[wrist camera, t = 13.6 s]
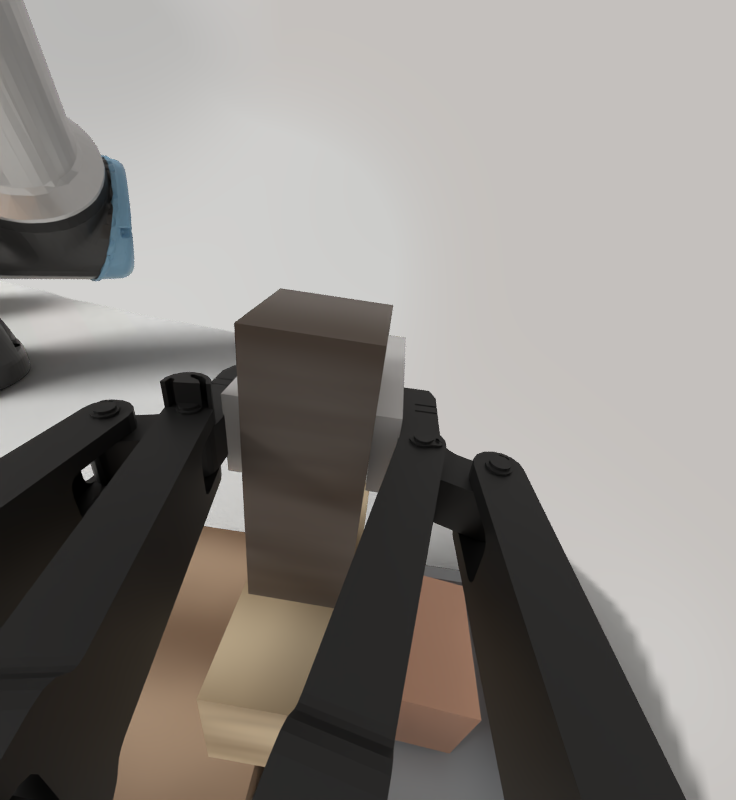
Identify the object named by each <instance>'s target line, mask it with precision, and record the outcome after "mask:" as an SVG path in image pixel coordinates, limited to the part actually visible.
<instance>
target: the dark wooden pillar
mask: <svg viewBox="0 0 736 800" xmlns="http://www.w3.org/2000/svg"><path fill="white" fill-rule="evenodd" d="M392 309H393V305H388V304H381V303H374V302H367V301H361V300H354V299H347V298H341V297H334V296H327V295H321V294H314V293H307V292H300V291H294V290H287V289H279V290H278V291H276V292H275V293H274V294H272V295H271V296H270V297H268V298H267V299H266V300H264V301H263V302H262V303H260V304H259V305H258V306H256V307H255V308H254V309H252V310H251V311H250V312H248V313H247V314H246V315H244V316H243V317H242V318H240V319H239V320H238V321H236V322H235V323H234V327H235V346H236V366H237V385H238V404H239V423H240V443H241V462H242V481H243V500H244V519H245V539H246V558H247V577H248V578H247V581H246V583H245V585H244V588H243V590H242V593H241V595H240V597H239V600H238V602H237V604H236V607H235V609H234V611H233V614H232V616H231V619H230V621H229V623H228V626H227V628H226V630H225V633H224V635H223V638H222V640H221V642H220V645H219V647H218V649H217V652H216V654H215V657H214V659H213V661H212V664H211V666H210V668H209V671H208V673H207V676H206V678H205V680H204V683H203V685H202V687H201V690H200V692H199V694H198V697H197V704H198V709H199V713H200V718H201V723H202V728H203V733H204V738H205V743H206V747H207V752H208V757H213V758H219V759H224V760H229V761H235V762H240V763H246V764H251V765H257V766H262V767H265V766H266V763H267V760H268V758H269V755H270V753H271V750H272V748H273V746H274V743H275V741H276V739H277V736H278V734H279V732H280V729H281V727H282V726H283V724H284V722H285V720H286V718H287V716H288V715H289V714H290V713H291V712H292V711H293V710H294V709H295V707H296V705H297V703H298V701H299V698H300V696H301V694H302V691H303V688H304V686H305V683H306V681H307V678H308V675H309V673H310V670H311V667H312V665H313V662H314V660H315V657H316V654H317V652H318V649H319V646H320V644H321V641H322V639H323V636H324V633H325V631H326V628H327V625H328V623H329V620H330V618H331V615H332V612H333V610H334V607H335V604H336V602H337V599H338V597H339V594H340V591H341V589H342V586H343V583H344V581H345V578H346V576H347V573H348V570H349V568H350V565H351V562H352V560H353V557H354V555H355V552H356V549H357V547H358V544H359V541H360V539H361V536H362V534H363V531H364V524H365V517H366V510H367V503H368V495H369V491H365V487H366V476H367V470H368V463H369V457H370V451H371V444H372V438H373V431H374V425H375V419H376V412H377V406H378V400H379V393H380V387H381V381H382V374H383V368H384V361H385V355H386V349H387V342H388V336H389V329H390V323H391V316H392Z"/></svg>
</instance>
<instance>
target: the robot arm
mask: <svg viewBox="0 0 736 800" xmlns="http://www.w3.org/2000/svg"><path fill="white" fill-rule="evenodd" d="M131 230H132V227H131V213H130V203H129V195H128V187H127V180H126V173H125V169H124V167H123V165H122V164H121V163H120V162H119V161H117V160H114V159H110V158H109V157H107V156H102V155H101V154H100V153H99V150H98V148H97V146H96V145H95V143H94V142H93V140H92V139H91V138H90V136H89V135H88V134H87V133H86V132H85V131H84V130H83V129H82V128H80V127H79V126H78V125H77V124H76V123H74V122H73V121H72V120H70V119H69V118H67V117H66V114H65V112H64V109H63V106H62V104H61V101H60V98H59V95H58V93H57V90H56V88H55V85H54V82H53V79H52V77H51V74H50V71H49V69H48V66H47V63H46V60H45V58H44V55H43V53H42V50H41V47H40V44H39V42H38V39H37V36H36V34H35V31H34V28H33V25H32V23H31V20H30V17H29V15H28V12H27V9H26V7H25V4H24V2H23V0H0V279H90V280H92V281H100V280H101V279H114V278H124V277H127V276H129V275H130V274H131V273H132V271H133V268H134V249H133V237H132V232H131ZM405 339H406V338H405V337H398V336H391V335H389V336H388V342H387V349H386V355H385V361H384V368H383V374H382V381H381V387H380V393H379V400H378V406H377V412H376V419H375V425H374V431H373V438H372V444H371V451H370V457H369V464H368V472H367V480H366V487H365V491H372V492H378V494H377V497H376V499H375V502H374V505H373V507H372V510H371V513H370V515H369V518H368V520H367V523H366V526H365V528H364V531H363V534H362V536H361V539H360V541H359V544H358V547H357V549H356V552H355V555H354V557H353V560H352V562H351V565H350V568H349V570H348V573H347V576H346V578H345V581H344V583H343V586H342V589H341V591H340V594H339V597H338V599H337V602H336V604H335V607H334V610H333V612H332V615H331V618H330V620H329V623H328V625H327V628H326V631H325V633H324V636H323V639H322V641H321V644H320V646H319V649H318V652H317V654H316V657H315V660H314V662H313V665H312V667H311V670H310V673H309V675H308V678H307V681H306V683H305V686H304V688H303V691H302V694H301V696H300V698H299V701H298V703H297V705H296V707H295V709H294V710H293V711H292V712H291V713H290V714H289V715H288V716H287V718H286V720H285V722H284V724H283V726H282V727H281V729H280V732H279V734H278V736H277V739H276V741H275V743H274V746H273V748H272V750H271V753H270V755H269V758H268V760H267V763H266V766H265V768H264V771H263V773H262V776H261V778H260V781H259V783H258V786H257V788H256V791H255V793H254V796H253V798H252V800H388V794H389V788H390V781H391V775H392V767H393V754H394V743H395V736H396V730H397V724H398V719H399V713H400V707H401V702H402V696H403V690H404V685H405V679H406V673H407V667H408V662H409V656H410V650H411V645H412V639H413V633H414V628H415V622H416V616H417V611H418V605H419V599H420V593H421V588H422V582H423V576H424V571H425V565H426V559H427V554H428V548H429V542H430V537H431V531H432V525H433V522H434V523H436V524H439V525H441V526H444V527H446V528H448V529H451V530H453V533H452V535H453V540H454V545H455V550H456V555H457V560H458V565H459V571H460V576H461V581H462V586H463V591H464V596H465V601H466V606H467V612H468V617H469V622H470V627H471V632H472V637H473V642H474V647H475V653H476V658H477V663H478V668H479V673H480V678H481V683H482V688H483V693H484V699H485V704H486V709H487V714H488V719H489V724H490V729H491V734H492V740H493V745H494V750H495V755H496V760H497V765H498V770H499V775H500V781H501V786H502V791H503V796H504V800H686V798H685V796H684V794H683V792H682V790H681V788H680V786H679V784H678V782H677V780H676V778H675V776H674V774H673V772H672V770H671V768H670V766H669V764H668V762H667V760H666V758H665V756H664V754H663V752H662V750H661V748H660V746H659V744H658V742H657V739H656V737H655V735H654V733H653V731H652V729H651V727H650V725H649V723H648V721H647V719H646V717H645V715H644V713H643V711H642V709H641V707H640V705H639V703H638V701H637V699H636V697H635V695H634V693H633V691H632V689H631V687H630V685H629V683H628V681H627V679H626V676H625V674H624V672H623V670H622V668H621V666H620V664H619V662H618V660H617V658H616V656H615V654H614V652H613V650H612V648H611V646H610V644H609V642H608V640H607V638H606V636H605V634H604V632H603V630H602V628H601V626H600V624H599V622H598V620H597V618H596V616H595V613H594V611H593V609H592V607H591V605H590V603H589V601H588V599H587V597H586V595H585V593H584V591H583V589H582V587H581V585H580V583H579V581H578V579H577V577H576V575H575V573H574V571H573V569H572V567H571V565H570V563H569V561H568V559H567V557H566V555H565V553H564V551H563V548H562V546H561V544H560V542H559V540H558V538H557V537H556V534H555V532H554V530H553V528H552V526H551V524H550V522H549V520H548V518H547V516H546V514H545V512H544V510H543V508H542V506H541V504H540V502H539V500H538V498H537V496H536V494H535V492H534V490H533V488H532V485H531V484H530V481H529V480H528V477H527V475H526V473H525V471H524V469H523V468H522V467H521V466H520V464H519V463H518V462H516V461H515V460H514V459H512V458H511V457H508V456H507V455H504V454H501V453H496V452H482V453H479V454H477V455H476V456H475V458H474V459H473V461H472V460H469V459H466V458H463V457H461V456H458V455H456V454H454V453H453V452H451V451H449V450H448V449H447V448H446V443H445V440H444V439H443V438H442V437H441V436H440V432H439V425H438V416H437V408H436V399H435V398H434V396H433V395H432V394H431V393H430V392H429V391H424V390H417V389H410V388H404V367H405V365H404V364H405ZM30 367H31V364H30V361H29V358H28V356H27V353H26V350H25V348H24V346H23V345H22V343H21V342H20V341H19V340H18V339H16V337H15V336H14V335H13V333H12V332H11V331H10V329H9V328H8V327H7V326H6V325H5V323H4V322H3V321H2V320H1V319H0V390H1V389H4V388H6V387H8V386H10V385H12V384H13V383H15V382H17V381H18V380H20V379H21V378H23V377H24V376H25V375H26V374H27V373H28V371H29V370H30ZM160 384H161V389H162V394H163V400H164V405H165V408H164V409H163V410H162V412H161V413H160V414H154V415H135V412H134V407H133V406H132V405H131V403H129V402H126V401H123V400H103V401H100V402H97V403H93V404H90V405H88V406H86V407H84V408H82V409H80V410H79V411H77V412H76V413H74V414H72V415H71V416H69V417H67V418H66V419H64V420H62V421H61V422H59V423H57V424H56V425H54V426H52V427H51V428H49V429H47V430H46V431H44V432H43V433H41V434H39V435H38V436H36V437H34V438H33V439H31V440H29V441H28V442H26V443H24V444H23V445H21V446H19V447H18V448H16V449H15V450H13V451H11V452H10V453H8V454H6V455H5V456H3V457H1V458H0V800H113V798H114V793H115V788H116V784H117V776H118V765H119V756H120V752H121V747H122V744H123V741H124V738H125V735H126V732H127V730H128V727H129V724H130V722H131V719H132V716H133V714H134V711H135V708H136V706H137V703H138V700H139V698H140V695H141V692H142V690H143V687H144V684H145V682H146V679H147V676H148V674H149V671H150V668H151V666H152V663H153V660H154V657H155V655H156V652H157V649H158V647H159V644H160V641H161V639H162V636H163V633H164V631H165V628H166V625H167V623H168V620H169V617H170V615H171V612H172V609H173V607H174V604H175V601H176V599H177V596H178V593H179V591H180V588H181V585H182V583H183V580H184V577H185V575H186V572H187V569H188V567H189V564H190V561H191V558H192V556H193V553H194V550H195V548H196V545H197V542H198V540H199V537H200V534H201V532H202V529H203V526H204V524H205V521H206V518H207V516H208V513H209V510H210V508H211V505H212V502H213V500H214V497H215V494H216V492H217V489H218V486H219V484H220V481H221V464H222V463H223V461H224V460H225V458H226V457H227V460H228V470H230V471H236V472H242V462H241V443H240V423H239V404H238V385H237V366H235V365H234V366H232V367H230V368H228V369H225V370H223V371H222V372H221V373H220V374H219V375H218V376H217V377H216V379H214V380H213V381H212V382H211V379H210V378H209V377H208V376H206V375H204V374H202V373H195V372H183V373H178V374H173V375H170V376H168V377H165V378H164V379H163V380H161V381H160ZM89 464H91V467H92V470H93V473H94V476H93V477H91V478H90V479H89V480H87V481H85V480H84V479H83V476H82V473H81V470H82V469H84V468H85V467H86V466H88V465H89Z"/></svg>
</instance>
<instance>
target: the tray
mask: <svg viewBox="0 0 736 800" xmlns="http://www.w3.org/2000/svg"><path fill="white" fill-rule="evenodd" d="M424 576H427V577H431V578H435V579H438V580H442V581H446V582H449V583H453V584H457V585H461V586H462V581H461V576H460V571H459V570H453V569H447V568H440V567H434V566H427V565H425V571H424ZM465 603H466V601H465ZM466 610H467V606H466ZM467 618H468V625H469V633H470V640H471V648H472V655H473V662H474V670H475V677H476V685H477V692H478V700H479V707H480V714H481V721H480V722H479V723H478V724H477V726H476V727H475V728H474V729H473V730H472V731H471V732H470V733H469V734H468V735H467V736H466V737H465V738H464V739H463V740H462V741H461V742H460V743H459V744H458V745H457V746H456V747H455V748H454V749H453V750H452V751H451V752H450V753H445V752H441V751H437V750H433V749H429V748H425V747H421V746H417V745H413V744H409V743H405V742H401V741H397V740H395V743H394V754H393V767H392V775H391V781H390V788H389V794H388V800H504V796H503V791H502V786H501V781H500V775H499V770H498V765H497V760H496V755H495V750H494V745H493V740H492V734H491V729H490V724H489V719H488V714H487V709H486V704H485V699H484V693H483V688H482V683H481V678H480V673H479V668H478V663H477V658H476V653H475V647H474V642H473V637H472V632H471V627H470V622H469V617H468V612H467Z"/></svg>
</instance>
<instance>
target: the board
mask: <svg viewBox="0 0 736 800" xmlns="http://www.w3.org/2000/svg"><path fill="white" fill-rule="evenodd" d="M247 578H248V577H247V558H246V539H245V532H239V531H232V530H226V529H219V528H212V527H206V526H203V529H202V532H201V534H200V537H199V540H198V542H197V545H196V548H195V550H194V553H193V556H192V558H191V561H190V564H189V567H188V569H187V572H186V575H185V577H184V580H183V583H182V585H181V588H180V591H179V593H178V596H177V599H176V601H175V604H174V607H173V609H172V612H171V615H170V617H169V620H168V623H167V625H166V628H165V631H164V633H163V636H162V639H161V641H160V644H159V647H158V649H157V652H156V655H155V657H154V660H153V663H152V666H151V668H150V671H149V674H148V676H147V679H146V682H145V684H144V687H143V690H142V692H141V695H140V698H139V700H138V703H137V706H136V708H135V711H134V714H133V716H132V719H131V722H130V724H129V727H128V730H127V732H126V735H125V738H124V741H123V744H122V747H121V752H120V756H119V765H118V776H117V784H116V788H115V793H114V798H113V800H252V798H253V796H254V793H255V791H256V788H257V786H258V783H259V781H260V778H261V776H262V773H263V771H264V768H265V767H262V766H257V765H251V764H246V763H240V762H235V761H229V760H224V759H219V758H213V757H208V752H207V747H206V743H205V738H204V733H203V728H202V723H201V718H200V713H199V709H198V704H197V697H198V694H199V692H200V690H201V687H202V685H203V683H204V680H205V678H206V676H207V673H208V671H209V668H210V666H211V664H212V661H213V659H214V657H215V654H216V652H217V649H218V647H219V645H220V642H221V640H222V638H223V635H224V633H225V630H226V628H227V626H228V623H229V621H230V619H231V616H232V614H233V611H234V609H235V607H236V604H237V602H238V600H239V597H240V595H241V593H242V590H243V588H244V585H245V583H246V581H247Z"/></svg>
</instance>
